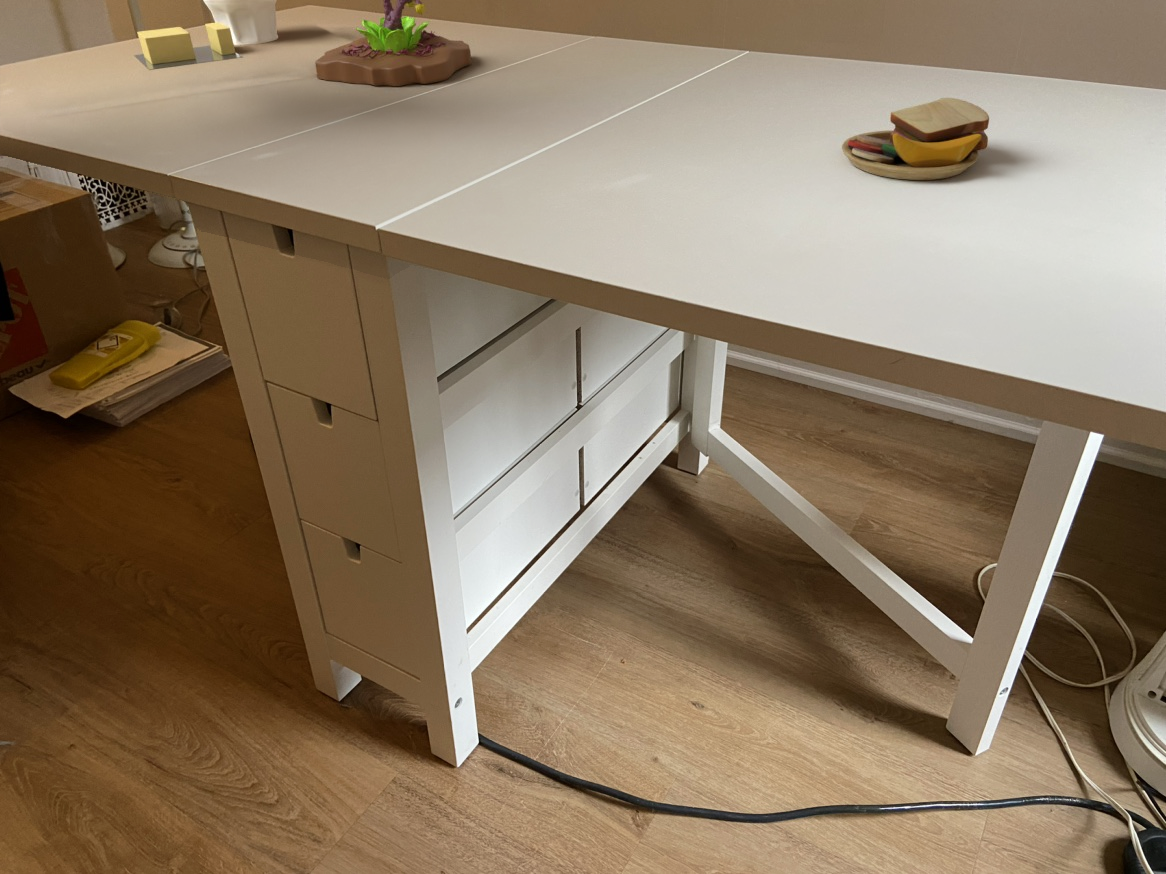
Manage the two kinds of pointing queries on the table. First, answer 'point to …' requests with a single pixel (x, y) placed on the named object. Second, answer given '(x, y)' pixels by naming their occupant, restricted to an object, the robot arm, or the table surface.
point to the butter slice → (220, 38)
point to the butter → (166, 45)
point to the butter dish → (201, 55)
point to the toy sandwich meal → (923, 142)
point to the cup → (246, 19)
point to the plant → (394, 53)
